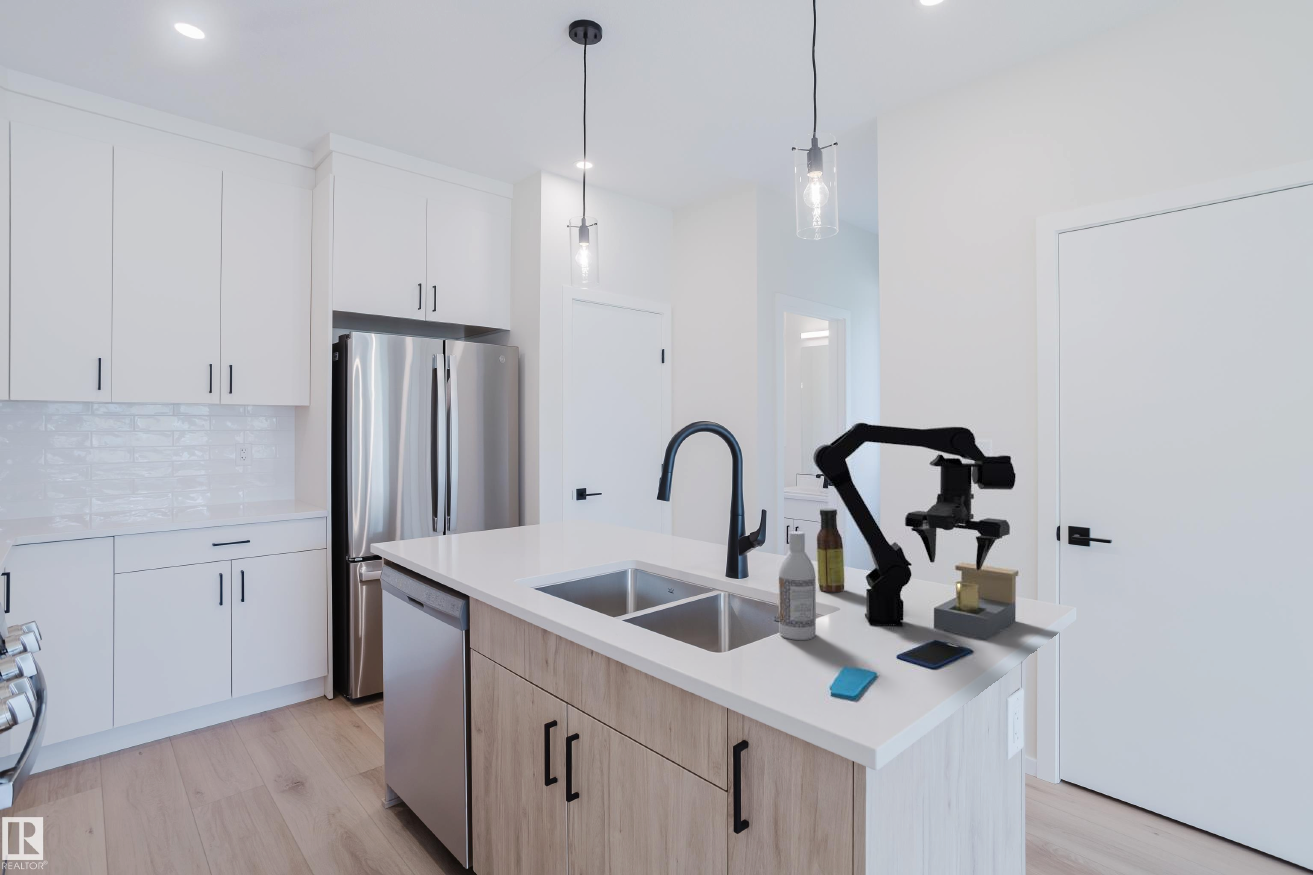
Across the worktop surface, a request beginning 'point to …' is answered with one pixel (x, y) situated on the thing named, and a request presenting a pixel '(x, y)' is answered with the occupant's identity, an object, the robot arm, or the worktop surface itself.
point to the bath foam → (797, 592)
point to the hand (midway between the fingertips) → (954, 565)
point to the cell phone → (934, 654)
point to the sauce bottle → (830, 553)
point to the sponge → (851, 682)
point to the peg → (967, 597)
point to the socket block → (981, 603)
